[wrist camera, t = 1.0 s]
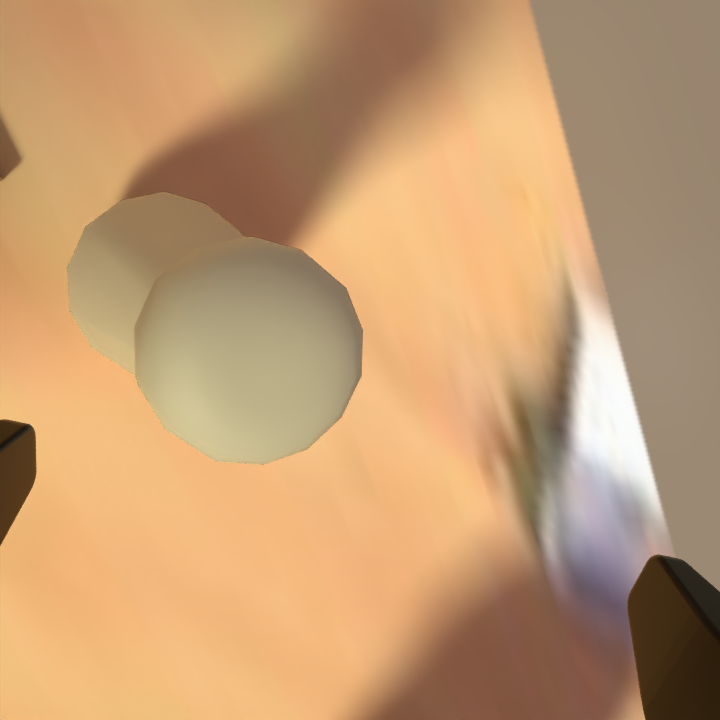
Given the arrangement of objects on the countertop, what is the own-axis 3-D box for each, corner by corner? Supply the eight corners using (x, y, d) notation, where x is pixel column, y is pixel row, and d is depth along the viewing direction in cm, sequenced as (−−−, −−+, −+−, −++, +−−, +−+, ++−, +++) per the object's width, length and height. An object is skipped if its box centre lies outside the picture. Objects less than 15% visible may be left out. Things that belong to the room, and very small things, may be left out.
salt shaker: (108, 160, 21) (195, 125, 10) (261, 239, 24) (462, 282, 13) (34, 322, 22) (36, 468, 10) (194, 383, 24) (335, 550, 13)
